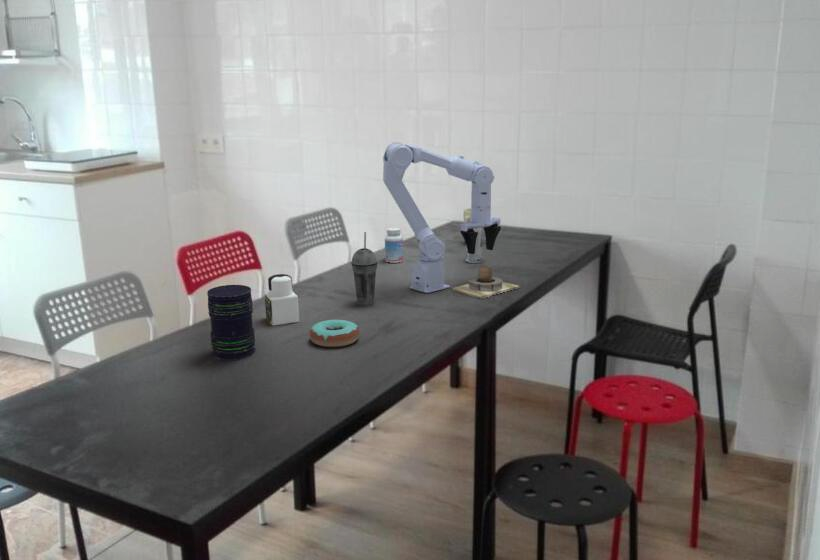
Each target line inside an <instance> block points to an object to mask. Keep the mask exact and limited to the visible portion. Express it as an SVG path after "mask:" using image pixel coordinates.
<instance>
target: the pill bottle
mask: <svg viewBox="0 0 820 560" xmlns="http://www.w3.org/2000/svg"><path fill="white" fill-rule="evenodd" d="M386 234H387V235H386V236H385V237H384V255H385V256H384V259H385V262H386V263H388V262H390V263H389V264H400V263H402V262H404V240H403V239H404V238H403V236H402V235H401V228H400V227H390V228H386ZM399 262H400V263H399Z"/></svg>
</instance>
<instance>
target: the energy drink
mask: <svg viewBox="0 0 820 560" xmlns="http://www.w3.org/2000/svg"><path fill="white" fill-rule="evenodd" d="M482 228H483V227H482ZM482 228H477V229H473V230H474V232H478V235H477V239H476V245H475V254H469V253H468V250H467V246H466V245H465V262H466V263H467V262H468V264H480V263H481V262H483V261H482V259H483V258H482V257H483V256H482V255H483V254H482V248H483V245H482V244H483V229H482Z"/></svg>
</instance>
